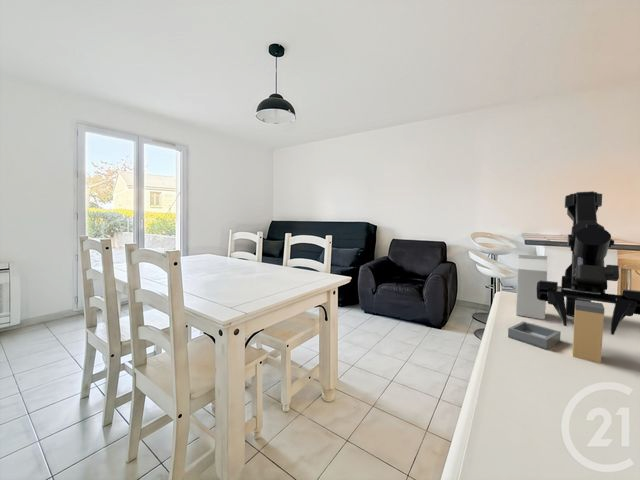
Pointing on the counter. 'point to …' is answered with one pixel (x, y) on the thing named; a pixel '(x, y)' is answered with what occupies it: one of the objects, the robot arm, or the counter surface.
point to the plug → (588, 330)
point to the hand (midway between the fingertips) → (588, 329)
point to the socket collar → (534, 335)
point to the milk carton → (530, 285)
